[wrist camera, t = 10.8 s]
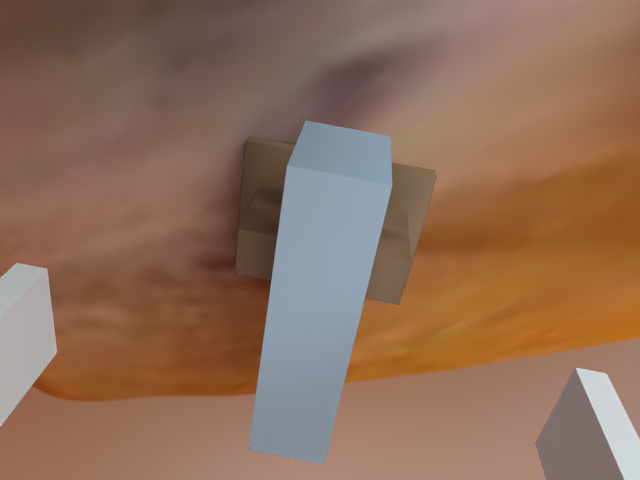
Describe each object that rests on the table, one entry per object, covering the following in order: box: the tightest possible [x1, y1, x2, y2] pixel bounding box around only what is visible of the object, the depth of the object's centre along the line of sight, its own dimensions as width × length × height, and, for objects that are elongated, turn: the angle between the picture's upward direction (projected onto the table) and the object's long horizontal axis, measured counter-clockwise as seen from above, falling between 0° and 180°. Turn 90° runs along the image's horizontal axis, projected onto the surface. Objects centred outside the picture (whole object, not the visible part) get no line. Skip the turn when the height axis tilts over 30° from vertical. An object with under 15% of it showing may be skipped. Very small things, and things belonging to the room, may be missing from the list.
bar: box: [249, 121, 392, 464], centre depth 23 cm, size 4×14×5 cm, turn 171°
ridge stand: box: [235, 136, 436, 305], centre depth 28 cm, size 10×7×6 cm
